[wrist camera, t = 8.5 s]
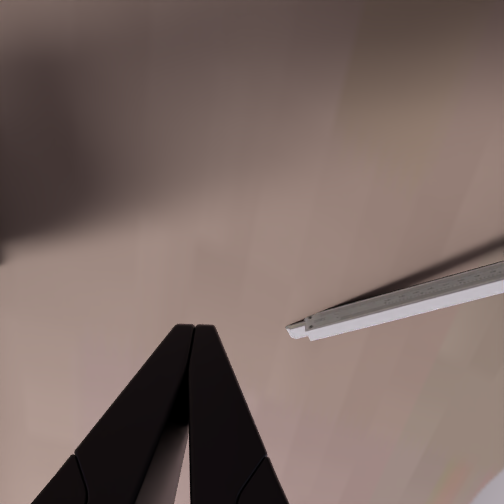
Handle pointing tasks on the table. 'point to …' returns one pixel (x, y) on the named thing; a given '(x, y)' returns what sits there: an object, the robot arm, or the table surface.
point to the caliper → (403, 303)
